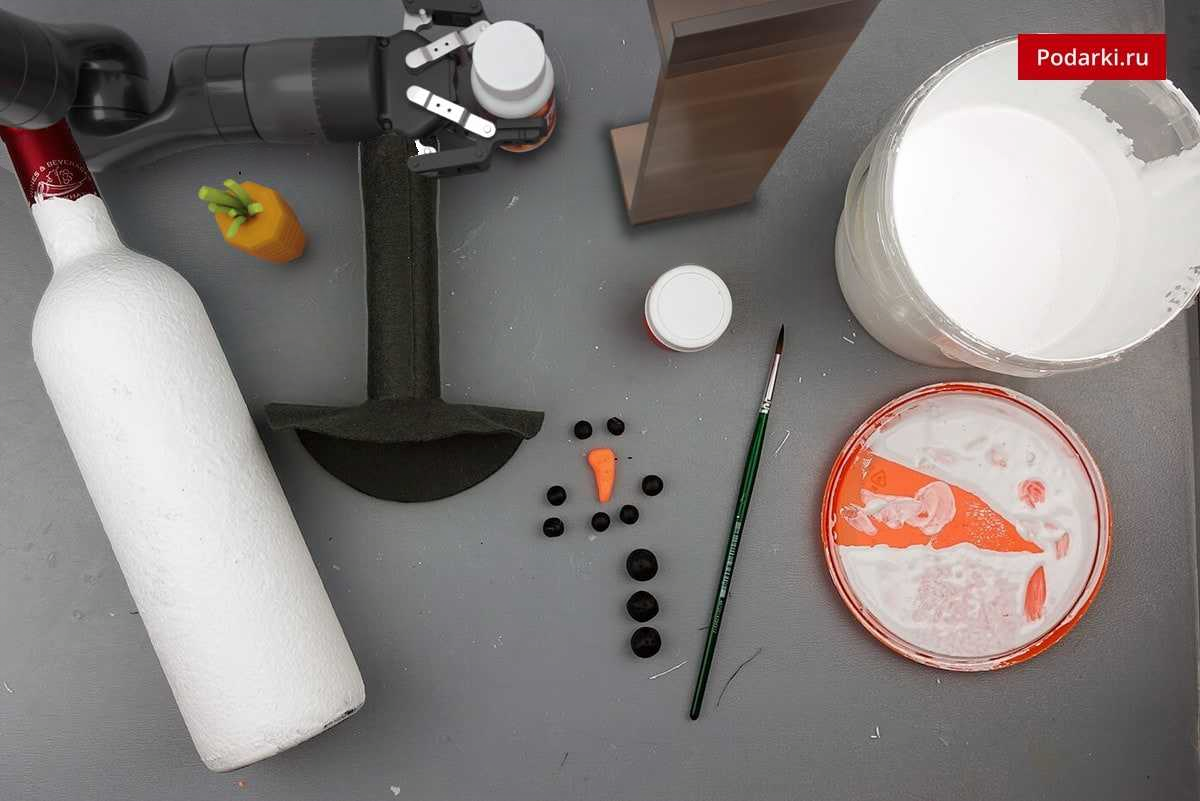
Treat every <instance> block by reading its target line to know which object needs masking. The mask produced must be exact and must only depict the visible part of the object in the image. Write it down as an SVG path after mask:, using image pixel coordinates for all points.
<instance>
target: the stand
mask: <svg viewBox="0 0 1200 801" xmlns="http://www.w3.org/2000/svg"><path fill="white" fill-rule="evenodd" d="M855 41H856V40H853V41H848V42H843V43H838V44H834V45H829V46H824V47H819V48H815V49H810V50H805V51H800V52H796V53H791V54H786V55H781V56H776V57H772V58H767V59H762V60H757V61H753V62H748V63H743V64H738V65H733V66H729V67H724V68H719V69H714V70H710V71H705V72H700V73H695V74H691V75H686V76H681V77H676V78H671V79H667V80H666V79H665V76H664V72H663V68H662V63H660V65H659V66H660V67H659V70H658V71H659V72H658V76H657V80H656V86H655V91H654V95H653V99H652V105H651V108H650V115H649V117H648V118H649V119H648V121H645V122H640V123H635V124H630V125H626V126H622V127H617V128H616V127H615V128H611V129H610V130H609V132H610V133H609V137H610V141H611V142H610V143H611V145H612V151H613V155H614V159H615V164H616V168H617V172H618V176H619V181H620V185H621V189H622V193H623V198H624V202H625V207H626V211H627V216H628V220H629V224H630V227H631V228H636V227H640V226H645V225H649V224H654V223H655V224H656V223H659V222H663V221H668V220H673V219H678V218H682V217H687V216H692V215H696V214H702V213H705V212H711V211H716V210H719V209H723V208H728V207H733V206H737V205H742V204H747V203H750V201H751V200H752V198H753V196H754V195H755V194H756V192H757V190H758V189H759V188H760V186H761V184H762V183H763V182H764V180H765V179H766V177H767V175H768V174H769V172H770V171H771V169H772V168H773V166H774V165H775V163H776V162H777V161H778V159H779V158H780V156H781V154H782V152H783V151H784V149H785V148H786V147H787V145H788V144H789V142H790V140H791V139H792V137H793V136H794V134H795V133H796V131H797V130H798V128H799V126H800V125H801V124H802V122H803V121H804V120H805V118H806V116H807V115H808V113H809V112H810V110H811V108H812V107H813V105H814V104H815V103H816V101H817V100H818V97H819V96H820V95H821V93H822V92H823V90H824V89H825V88H826V86H827V84H828V83H829V81H830V80H831V78H832V77H833V75H834V74H835V72H836V71H837V69H838V67H839V66H840V65H841V63H842V61H843V60H844V58H845V57H846V55H847V54H848V53H849V51H850V50H851V48H852V47H853V45H854V43H855Z"/></svg>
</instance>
